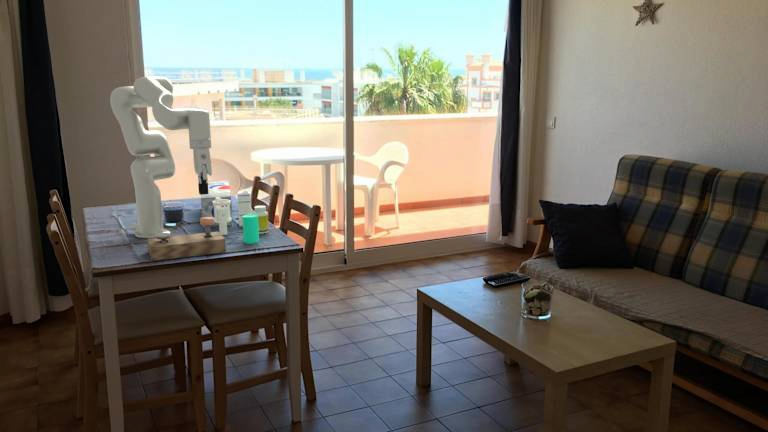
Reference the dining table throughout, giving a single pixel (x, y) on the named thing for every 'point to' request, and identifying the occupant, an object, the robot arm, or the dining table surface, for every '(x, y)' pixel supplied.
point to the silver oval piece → (163, 235)
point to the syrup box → (244, 204)
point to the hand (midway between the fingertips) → (203, 193)
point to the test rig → (186, 246)
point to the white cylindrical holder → (222, 214)
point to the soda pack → (215, 190)
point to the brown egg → (207, 224)
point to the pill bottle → (262, 219)
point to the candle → (250, 229)
